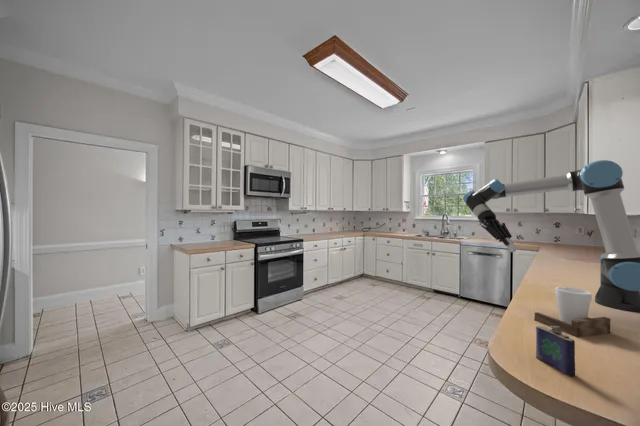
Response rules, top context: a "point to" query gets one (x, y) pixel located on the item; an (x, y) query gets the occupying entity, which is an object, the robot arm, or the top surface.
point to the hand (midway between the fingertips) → (514, 250)
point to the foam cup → (572, 303)
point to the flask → (556, 349)
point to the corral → (577, 325)
